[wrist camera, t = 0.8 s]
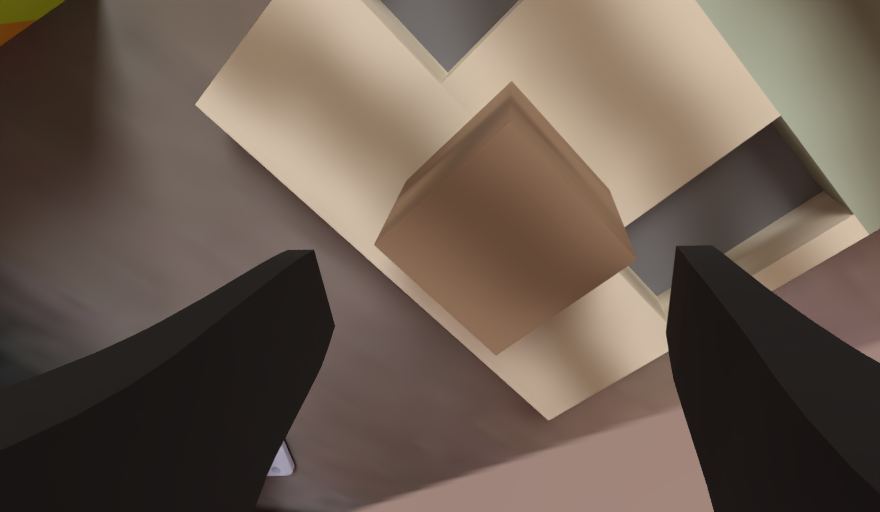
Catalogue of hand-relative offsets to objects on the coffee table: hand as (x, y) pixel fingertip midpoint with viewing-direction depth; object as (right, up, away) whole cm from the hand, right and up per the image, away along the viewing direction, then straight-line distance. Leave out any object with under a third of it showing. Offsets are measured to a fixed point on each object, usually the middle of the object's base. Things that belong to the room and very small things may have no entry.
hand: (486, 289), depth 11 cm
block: (+1, +3, +8) cm, 9 cm away
